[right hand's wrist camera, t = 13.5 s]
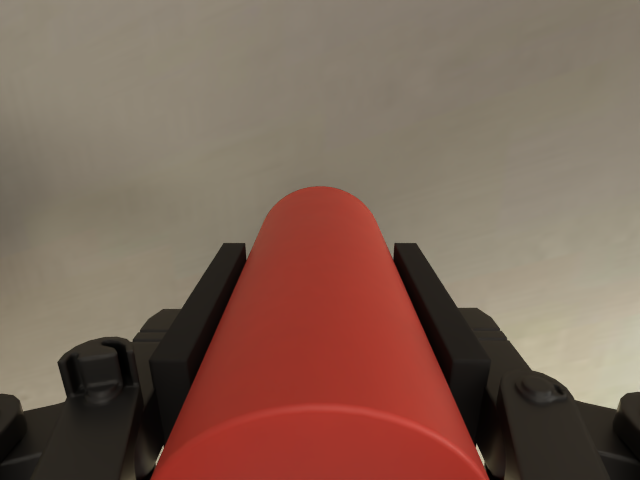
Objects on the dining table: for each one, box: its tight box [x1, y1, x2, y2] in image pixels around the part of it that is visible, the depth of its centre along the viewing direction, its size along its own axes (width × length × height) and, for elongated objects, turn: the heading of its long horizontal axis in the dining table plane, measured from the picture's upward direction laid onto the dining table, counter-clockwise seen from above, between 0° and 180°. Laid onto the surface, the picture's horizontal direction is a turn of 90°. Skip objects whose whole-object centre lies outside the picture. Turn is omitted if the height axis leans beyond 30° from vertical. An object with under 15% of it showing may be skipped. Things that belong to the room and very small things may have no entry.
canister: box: [150, 186, 489, 480], centre depth 11 cm, size 5×5×12 cm
